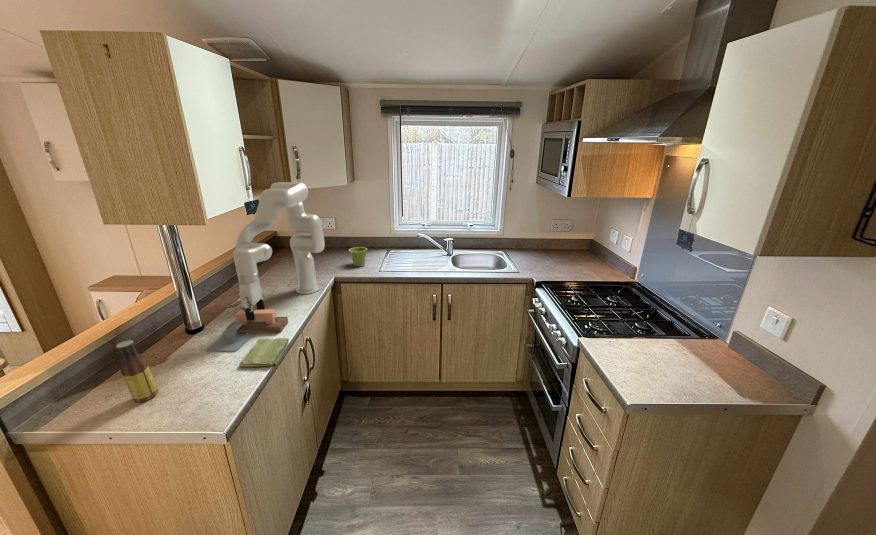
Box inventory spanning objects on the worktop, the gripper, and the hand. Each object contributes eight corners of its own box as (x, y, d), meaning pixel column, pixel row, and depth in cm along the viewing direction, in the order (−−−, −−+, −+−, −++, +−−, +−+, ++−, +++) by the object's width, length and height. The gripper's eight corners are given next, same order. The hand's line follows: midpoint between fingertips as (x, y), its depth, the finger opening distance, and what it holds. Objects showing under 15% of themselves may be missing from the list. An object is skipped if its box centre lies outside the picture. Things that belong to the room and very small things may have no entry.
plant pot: (371, 265, 226) (370, 249, 222) (357, 269, 218) (355, 253, 214) (361, 261, 234) (360, 245, 230) (346, 265, 225) (345, 249, 221)
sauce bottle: (149, 388, 110) (131, 335, 103) (163, 392, 108) (145, 338, 102) (127, 402, 104) (105, 346, 97) (141, 406, 102) (120, 350, 96)
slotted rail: (237, 324, 150) (236, 318, 149) (288, 322, 152) (287, 316, 151) (227, 334, 142) (225, 328, 141) (280, 332, 143) (279, 326, 142)
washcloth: (237, 370, 119) (236, 362, 118) (259, 343, 136) (257, 336, 135) (275, 368, 120) (274, 361, 119) (292, 342, 137) (291, 335, 136)
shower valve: (255, 321, 142) (233, 340, 128) (257, 333, 144) (236, 353, 130) (227, 321, 143) (201, 339, 128) (229, 332, 144) (205, 352, 130)
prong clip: (243, 326, 148) (239, 310, 145) (278, 325, 149) (275, 309, 146) (239, 330, 145) (235, 314, 142) (275, 329, 146) (271, 313, 143)
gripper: (248, 270, 147) (256, 305, 152) (228, 285, 130) (237, 324, 136) (266, 270, 147) (273, 305, 153) (248, 285, 131) (256, 324, 137)
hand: (256, 314), depth 144 cm, fingers open, 9 cm apart
